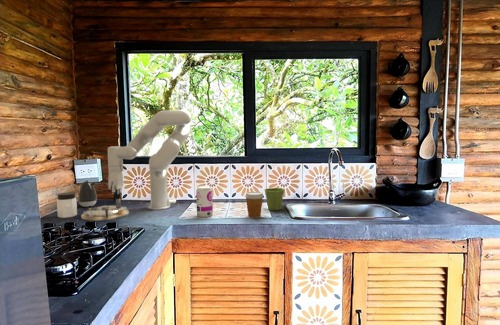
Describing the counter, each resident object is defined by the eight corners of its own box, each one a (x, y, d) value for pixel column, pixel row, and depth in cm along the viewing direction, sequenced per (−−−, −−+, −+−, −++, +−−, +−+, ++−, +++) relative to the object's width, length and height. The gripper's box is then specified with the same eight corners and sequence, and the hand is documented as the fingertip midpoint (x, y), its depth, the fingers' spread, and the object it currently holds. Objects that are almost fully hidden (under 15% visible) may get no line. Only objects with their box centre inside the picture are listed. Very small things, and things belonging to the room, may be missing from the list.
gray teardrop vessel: (92, 207, 188) (91, 182, 187) (75, 208, 189) (73, 182, 187) (100, 204, 199) (99, 179, 197) (84, 204, 199) (82, 180, 198)
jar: (58, 218, 164) (56, 195, 163) (57, 215, 170) (56, 193, 170) (77, 216, 169) (76, 193, 168) (76, 213, 175) (75, 191, 174)
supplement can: (215, 214, 170) (215, 186, 169) (207, 218, 162) (206, 188, 161) (202, 213, 173) (202, 185, 172) (193, 216, 166) (193, 187, 165)
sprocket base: (126, 208, 186) (125, 199, 186) (131, 217, 166) (130, 207, 165) (81, 213, 176) (81, 203, 175) (81, 223, 155) (80, 212, 155)
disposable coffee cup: (252, 213, 172) (252, 191, 171) (267, 215, 167) (267, 192, 166) (241, 216, 164) (241, 193, 163) (256, 219, 159) (256, 195, 158)
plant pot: (279, 206, 188) (279, 187, 187) (288, 210, 177) (288, 190, 176) (261, 207, 185) (260, 188, 184) (268, 212, 173) (268, 191, 173)
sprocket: (124, 206, 184) (123, 195, 184) (128, 214, 166) (127, 201, 166) (83, 210, 175) (83, 199, 174) (83, 219, 157) (83, 206, 156)
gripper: (114, 167, 185) (115, 198, 186) (103, 170, 170) (104, 204, 171) (127, 167, 185) (128, 198, 187) (117, 169, 170) (119, 204, 172)
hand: (117, 201), depth 179 cm, fingers closed
